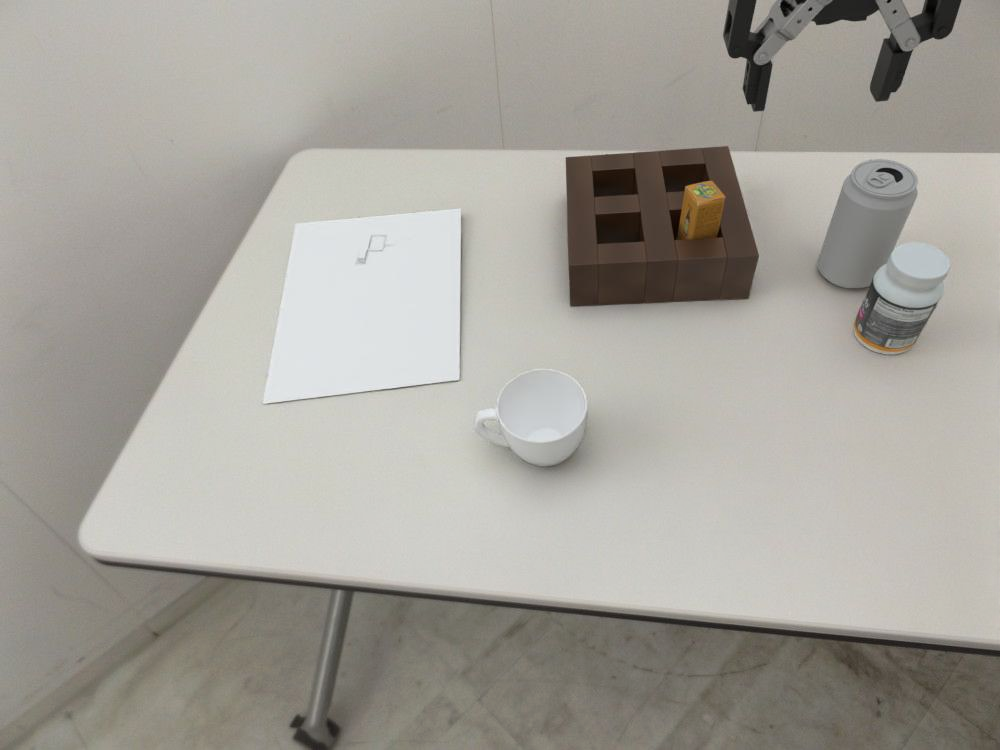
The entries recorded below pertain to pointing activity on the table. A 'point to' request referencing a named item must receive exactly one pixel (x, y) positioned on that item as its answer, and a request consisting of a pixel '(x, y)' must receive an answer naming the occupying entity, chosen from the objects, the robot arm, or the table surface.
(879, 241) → the beverage can
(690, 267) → the peg board
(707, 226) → the supplement box
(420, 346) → the paper sheet
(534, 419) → the cup
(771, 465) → the table surface
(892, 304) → the pill bottle
